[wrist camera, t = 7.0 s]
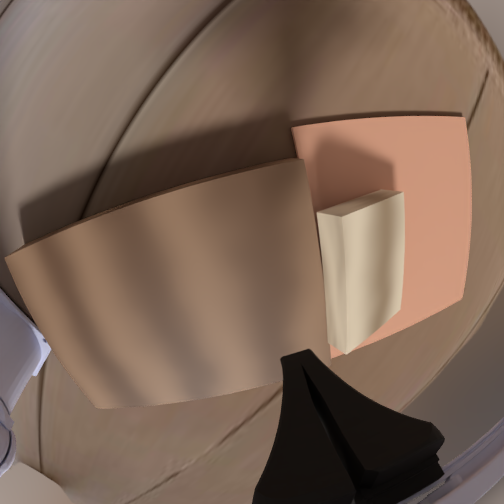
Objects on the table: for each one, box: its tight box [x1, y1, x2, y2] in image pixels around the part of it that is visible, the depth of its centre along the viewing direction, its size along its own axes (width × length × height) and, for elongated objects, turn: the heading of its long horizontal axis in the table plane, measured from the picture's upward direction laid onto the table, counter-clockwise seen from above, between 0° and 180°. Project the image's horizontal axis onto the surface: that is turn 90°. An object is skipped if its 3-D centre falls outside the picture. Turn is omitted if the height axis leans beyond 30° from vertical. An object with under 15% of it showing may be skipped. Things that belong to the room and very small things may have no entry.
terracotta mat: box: [291, 116, 472, 358], centre depth 20 cm, size 18×20×1 cm
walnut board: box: [5, 158, 331, 409], centre depth 18 cm, size 22×16×3 cm
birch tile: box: [317, 189, 405, 355], centre depth 18 cm, size 7×10×2 cm
